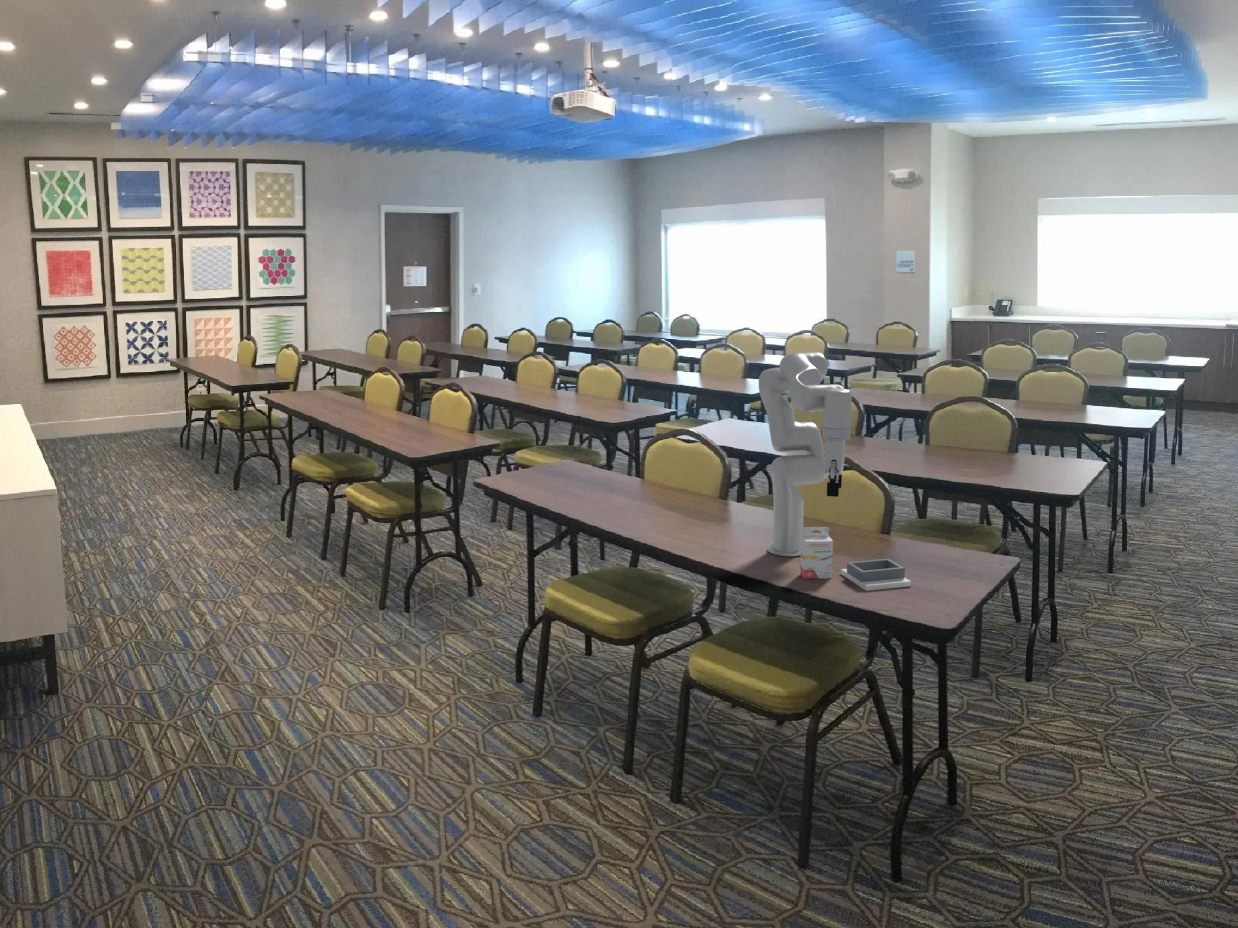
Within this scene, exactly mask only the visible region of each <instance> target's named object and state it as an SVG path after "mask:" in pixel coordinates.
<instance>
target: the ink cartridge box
mask: <svg viewBox="0 0 1238 928" xmlns="http://www.w3.org/2000/svg"><path fill="white" fill-rule="evenodd" d="M814 531H820V532H814ZM833 554H834V540H833V539H832V538H831V537H830V526H823V527H822V526H809V527H808V526H807V527H804V526H803V531H802V540H801V556H800V575H801V577H802V578H803V579H804V580H807V579H808V580H809V579H811V580H813V579H816V580H817V579H832V578H833Z"/></svg>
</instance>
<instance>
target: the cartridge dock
mask: <svg viewBox="0 0 1238 928" xmlns="http://www.w3.org/2000/svg"><path fill="white" fill-rule="evenodd" d="M905 570H906V569H905V567H904V566H902V565H900V564H898V563H897V562H895V561H893V560H891V559H890V558H881V559H871V560H861V561H860V560H859V561H849V562H847V563H846V568H841V569H840V574H841V575H842V576H843V577H844V578H846V579H847V580H849V581H851V582H852V583H854V584H856V585H857V586H859V587H860V588H861V589H863V590H865V592H867V591H877V590H886V589H895V588H896V589H898V588H908V587H911V586H912V581H911V580H910V579H908V578H906V577H905V572H906V571H905Z"/></svg>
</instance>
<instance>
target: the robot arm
mask: <svg viewBox="0 0 1238 928" xmlns="http://www.w3.org/2000/svg"><path fill="white" fill-rule="evenodd" d="M828 365H829V364H828V361H827V359H826V356H825V355H824V354H823V353H821V352H816V351H814V352H813V351H812V352H792V353H788V354H786V355H784V356H783V357H782V358H781V360H780V362H779V367H771V368H768V369H765V370H763V371H762V372H761V373H760V375H759V377H758V392H759V395H760V399H761V401H762V404H763V406H764V409H765V411H766V414H767V422H768V426H769V428H768V429H769V434H770V435H769V436H770V441H771V446H772V448H773V450H774V451H775V452H778V453H798V452H800V453H801V452H803V453H805V454H791V455H783V456H779V457H778V456H777V457H776V458H775V459H774V460H773V461H772V462H771V466H770V472H771V480H772V487H773V488H772V489H773V510H772V511H773V518H772V520H773V522H772V523H773V525H772V527H773V529H772V544H770V545H769V546H768V547H767V551H768V552H769V553H770V554H772V555H775V556H780V557H788V558H789V557H791V558H792V557H799V556H800V557H801V540H802V531H803V528H804V497H803V495H802V493H801V492H800V491H799V489H798V488H797V486H801V485H815V484H820V483H823V482H824V481H825V479H826V477H827V482H826V497H834V498H835V497H836V498H837V497H839V493H840V491H839V490H840V489H841V488H842V486H843V485H842V483H843V479H842V478H843V474H842V473H843V471H844V465H845V460H846V459H845V458H846V456H845V455H846V441H848V440H850V439H851V421H852V420H851V419H852V403H853V401H852V398H853V397H852V396H853V395H852V392H851V390H850V389H846V388H844V387H843V386H842V385H840V384H835V383H833V384H821V382H822V381H823V380H824V379H825V378H826V375H828V374H827V373H828V371H829V370H828V368H829V366H828ZM784 394H786V395H787V394H788V395H789V397H790V401H791V402H792V404H793V405H794V406H795V407H796V408H797V409H799V410H800V411H801V412H810V413H811V412H823V419H822V420H823V421H822V434H821V430H820V428H819V427H818V425H817V424H816V423H815V422H812V421H800V422H799V421H796V418H795V417H796V416H795V413H794V407H793V406H792V404H791V403H790V402H789V401H788V400H787V399H786V398H785V397H784V396H783V395H784ZM823 439H824V440H825V446H824V445H823ZM827 475H828V476H827Z"/></svg>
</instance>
